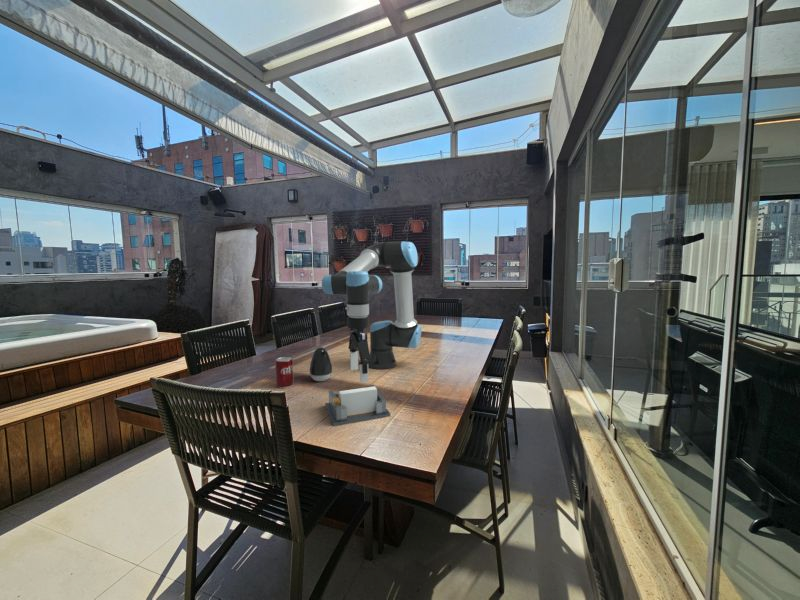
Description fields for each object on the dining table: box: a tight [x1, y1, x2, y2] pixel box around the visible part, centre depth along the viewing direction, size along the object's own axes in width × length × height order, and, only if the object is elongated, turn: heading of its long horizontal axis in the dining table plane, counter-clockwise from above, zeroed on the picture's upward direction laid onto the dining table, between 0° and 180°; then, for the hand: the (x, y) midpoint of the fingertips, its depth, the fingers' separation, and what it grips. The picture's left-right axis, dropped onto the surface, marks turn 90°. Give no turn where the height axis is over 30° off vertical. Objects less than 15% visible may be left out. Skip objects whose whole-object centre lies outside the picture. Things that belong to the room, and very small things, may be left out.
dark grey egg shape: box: [309, 346, 333, 382], centre depth 154 cm, size 10×10×15 cm
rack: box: [324, 384, 391, 427], centre depth 122 cm, size 20×17×7 cm
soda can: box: [274, 356, 295, 389], centre depth 147 cm, size 7×7×12 cm
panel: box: [338, 385, 378, 416], centre depth 119 cm, size 13×3×8 cm, turn 112°
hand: (359, 375), depth 118 cm, fingers open, 13 cm apart
